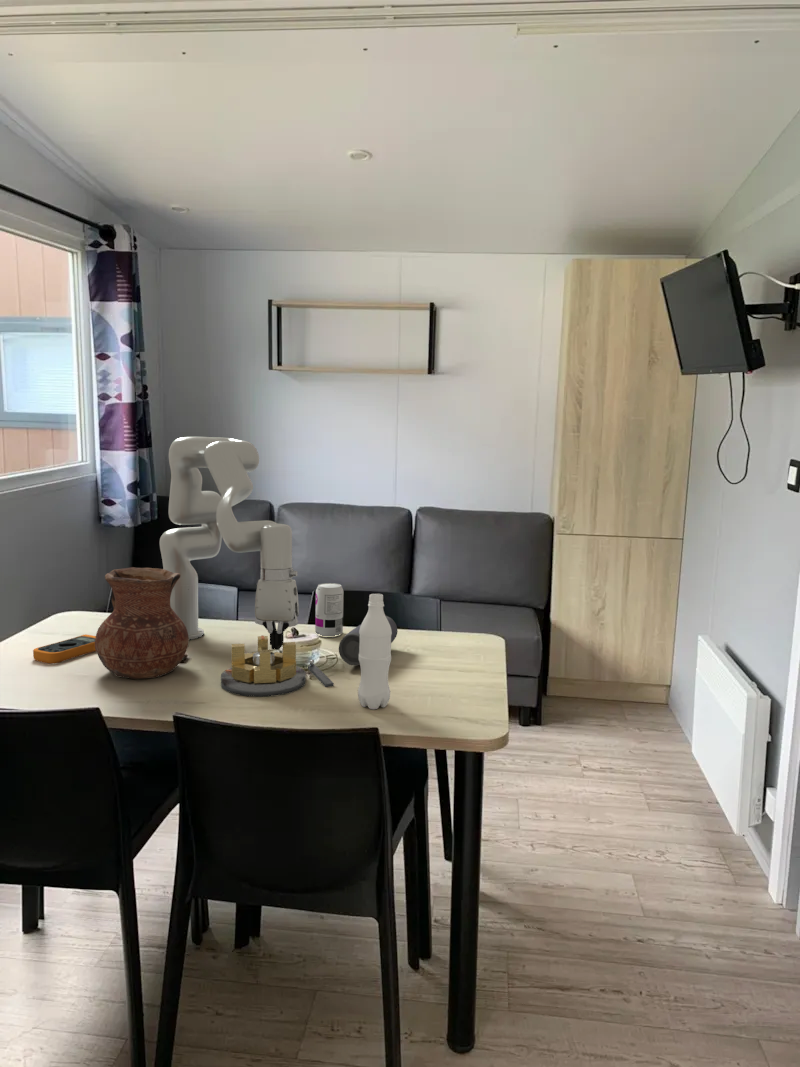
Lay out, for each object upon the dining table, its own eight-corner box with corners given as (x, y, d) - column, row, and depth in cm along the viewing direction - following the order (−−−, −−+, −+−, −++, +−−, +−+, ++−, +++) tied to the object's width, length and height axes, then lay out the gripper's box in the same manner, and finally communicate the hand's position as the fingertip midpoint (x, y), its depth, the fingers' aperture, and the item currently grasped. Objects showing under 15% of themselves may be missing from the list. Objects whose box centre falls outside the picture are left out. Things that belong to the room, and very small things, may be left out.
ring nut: (231, 684, 173) (231, 653, 172) (231, 664, 187) (231, 636, 186) (297, 681, 176) (298, 651, 175) (292, 662, 191) (293, 634, 190)
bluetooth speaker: (370, 672, 192) (371, 634, 191) (336, 668, 195) (336, 630, 194) (399, 649, 213) (400, 615, 212) (368, 646, 216) (369, 611, 215)
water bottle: (369, 713, 163) (371, 599, 160) (351, 703, 169) (353, 593, 166) (396, 707, 168) (399, 596, 165) (378, 697, 173) (380, 590, 170)
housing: (216, 697, 171) (216, 667, 170) (225, 670, 191) (225, 643, 190) (305, 695, 173) (306, 666, 173) (305, 669, 193) (305, 642, 192)
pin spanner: (333, 687, 181) (333, 677, 181) (325, 688, 180) (325, 678, 180) (314, 668, 195) (314, 658, 195) (306, 669, 195) (306, 659, 194)
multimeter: (29, 661, 195) (28, 648, 194) (85, 645, 211) (84, 633, 211) (52, 666, 191) (52, 653, 191) (108, 649, 207) (107, 637, 207)
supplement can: (310, 636, 225) (311, 586, 223) (321, 630, 233) (322, 581, 231) (336, 639, 222) (337, 589, 220) (346, 632, 230) (347, 584, 228)
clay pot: (204, 664, 195) (204, 568, 192) (158, 689, 175) (156, 583, 172) (130, 655, 201) (128, 562, 198) (76, 679, 181) (73, 576, 178)
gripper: (310, 573, 187) (310, 646, 189) (252, 570, 190) (253, 642, 192) (301, 578, 180) (301, 654, 182) (241, 575, 182) (242, 650, 185)
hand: (276, 648), depth 187 cm, fingers closed
